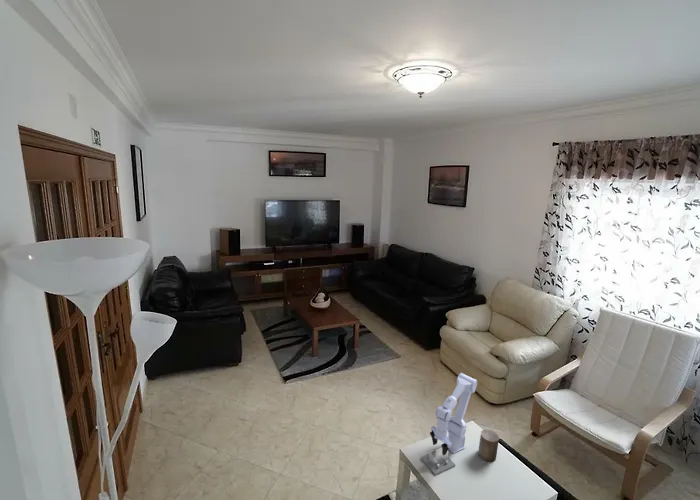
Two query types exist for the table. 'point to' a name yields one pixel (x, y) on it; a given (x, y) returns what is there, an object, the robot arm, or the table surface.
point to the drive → (437, 457)
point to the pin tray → (438, 465)
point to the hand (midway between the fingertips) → (439, 449)
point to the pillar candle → (488, 445)
